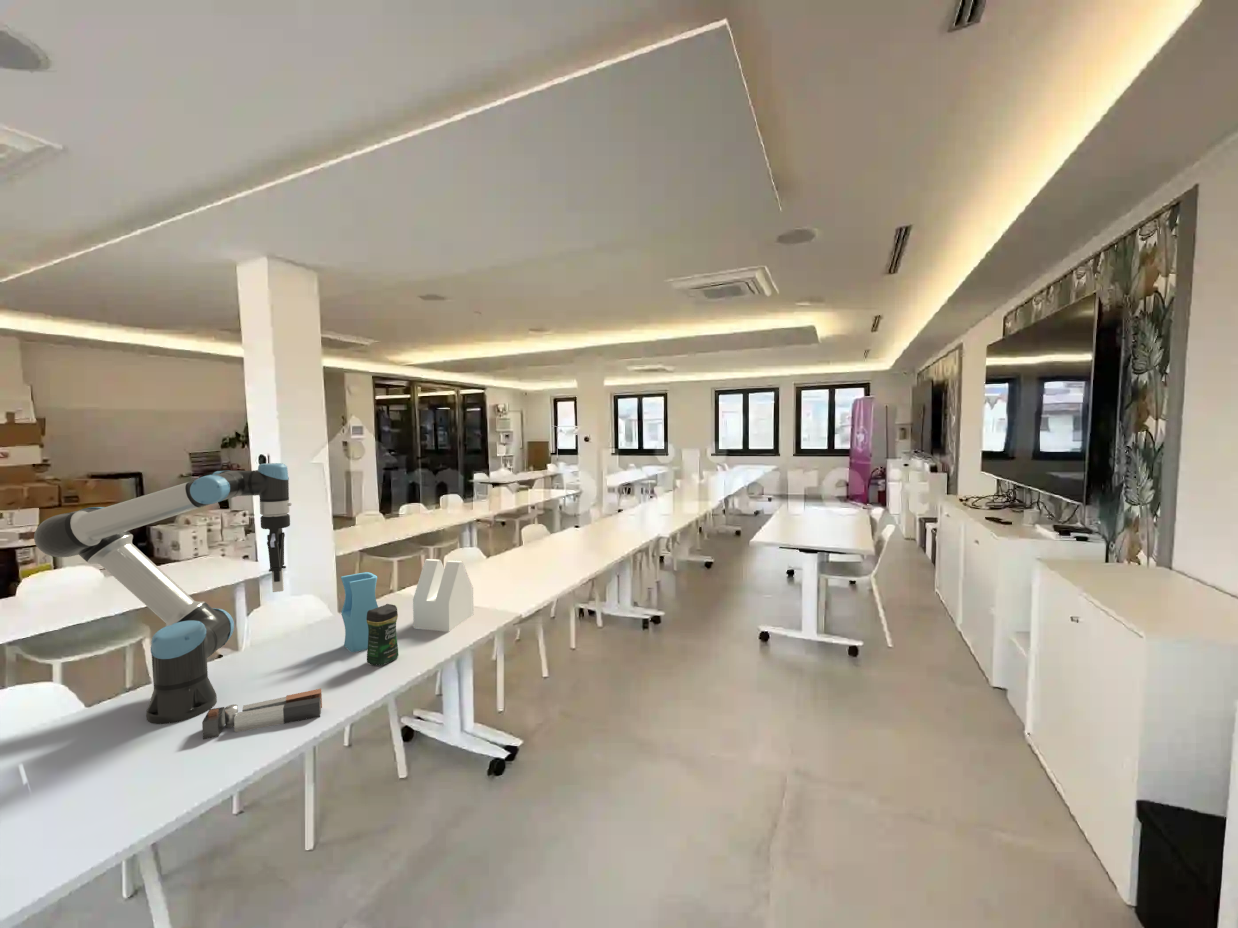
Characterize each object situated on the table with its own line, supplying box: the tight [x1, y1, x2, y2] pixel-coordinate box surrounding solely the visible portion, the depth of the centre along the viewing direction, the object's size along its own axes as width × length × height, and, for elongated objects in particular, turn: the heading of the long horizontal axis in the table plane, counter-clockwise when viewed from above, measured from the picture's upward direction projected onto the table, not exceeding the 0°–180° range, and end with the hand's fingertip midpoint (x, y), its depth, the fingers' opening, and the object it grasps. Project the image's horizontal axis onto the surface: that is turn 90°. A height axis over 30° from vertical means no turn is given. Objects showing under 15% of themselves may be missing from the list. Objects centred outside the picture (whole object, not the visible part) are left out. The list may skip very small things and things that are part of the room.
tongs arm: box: [224, 688, 323, 729], centre depth 147 cm, size 22×3×5 cm, turn 120°
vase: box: [340, 571, 379, 653], centre depth 194 cm, size 10×10×25 cm
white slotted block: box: [412, 558, 474, 633], centre depth 218 cm, size 19×15×25 cm
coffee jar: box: [366, 603, 399, 666], centre depth 182 cm, size 10×8×19 cm
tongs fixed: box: [201, 697, 322, 740], centre depth 144 cm, size 26×7×6 cm, turn 114°
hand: (278, 590), depth 166 cm, fingers closed
